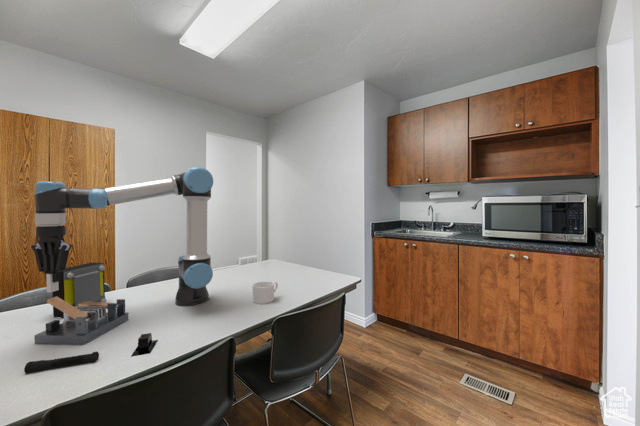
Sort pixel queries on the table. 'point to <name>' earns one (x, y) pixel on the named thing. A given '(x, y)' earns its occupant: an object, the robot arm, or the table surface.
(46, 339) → the heatsink base
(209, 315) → the table surface
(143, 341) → the black flanged mount
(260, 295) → the mug
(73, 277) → the electrical component
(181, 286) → the robot arm
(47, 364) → the long black strip
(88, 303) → the lever
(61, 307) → the lever
